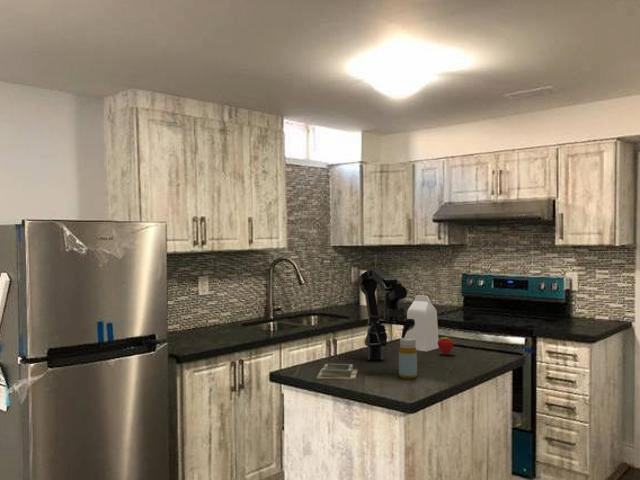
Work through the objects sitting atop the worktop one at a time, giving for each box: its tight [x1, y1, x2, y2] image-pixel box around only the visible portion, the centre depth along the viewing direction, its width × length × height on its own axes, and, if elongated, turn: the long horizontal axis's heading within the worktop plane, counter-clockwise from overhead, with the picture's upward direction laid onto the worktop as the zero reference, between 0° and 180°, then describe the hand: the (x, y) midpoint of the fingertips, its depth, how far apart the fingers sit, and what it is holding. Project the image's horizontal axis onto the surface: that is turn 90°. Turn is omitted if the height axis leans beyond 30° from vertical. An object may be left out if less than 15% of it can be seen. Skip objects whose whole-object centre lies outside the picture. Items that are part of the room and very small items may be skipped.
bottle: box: [398, 337, 418, 380], centre depth 226 cm, size 7×7×15 cm
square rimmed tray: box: [316, 363, 359, 381], centre depth 230 cm, size 15×15×3 cm
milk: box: [405, 294, 440, 353], centre depth 282 cm, size 12×12×26 cm
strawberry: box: [437, 336, 454, 356], centre depth 265 cm, size 6×8×10 cm
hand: (390, 342), depth 232 cm, fingers open, 9 cm apart
